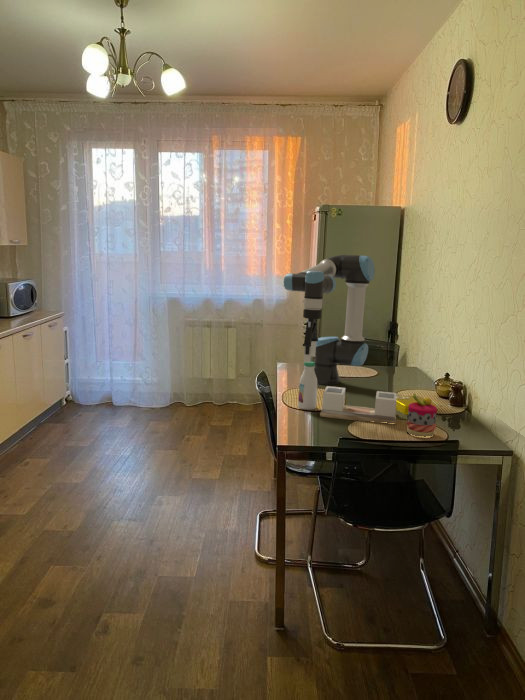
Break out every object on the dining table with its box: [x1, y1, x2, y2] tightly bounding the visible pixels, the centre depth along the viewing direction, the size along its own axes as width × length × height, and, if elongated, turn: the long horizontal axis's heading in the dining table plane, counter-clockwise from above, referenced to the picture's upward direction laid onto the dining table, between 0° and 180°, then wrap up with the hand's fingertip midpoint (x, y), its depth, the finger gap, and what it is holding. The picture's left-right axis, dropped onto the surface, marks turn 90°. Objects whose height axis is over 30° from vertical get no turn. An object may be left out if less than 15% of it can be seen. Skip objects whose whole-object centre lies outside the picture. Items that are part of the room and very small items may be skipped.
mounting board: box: [319, 404, 397, 424], centre depth 219 cm, size 15×30×3 cm, turn 76°
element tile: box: [396, 395, 437, 416], centre depth 231 cm, size 15×15×5 cm
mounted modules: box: [321, 385, 397, 417], centre depth 218 cm, size 12×29×8 cm, turn 76°
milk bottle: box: [297, 361, 318, 411], centre depth 225 cm, size 8×8×20 cm
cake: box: [405, 393, 438, 437], centre depth 198 cm, size 10×11×15 cm
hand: (309, 359), depth 223 cm, fingers open, 13 cm apart
